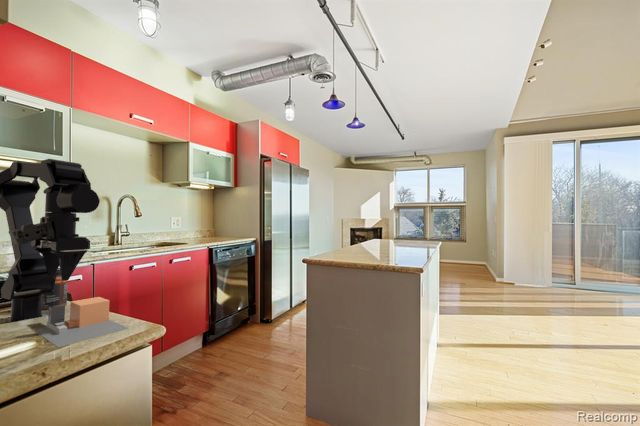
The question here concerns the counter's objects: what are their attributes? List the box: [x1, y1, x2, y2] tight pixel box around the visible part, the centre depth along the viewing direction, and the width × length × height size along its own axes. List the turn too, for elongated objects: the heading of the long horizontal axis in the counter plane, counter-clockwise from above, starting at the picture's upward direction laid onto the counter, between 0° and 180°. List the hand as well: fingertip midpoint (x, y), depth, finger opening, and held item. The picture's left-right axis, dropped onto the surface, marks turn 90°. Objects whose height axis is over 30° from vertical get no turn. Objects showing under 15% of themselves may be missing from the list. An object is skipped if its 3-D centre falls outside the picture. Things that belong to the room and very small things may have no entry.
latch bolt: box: [41, 304, 66, 325], centre depth 69 cm, size 10×2×4 cm, turn 57°
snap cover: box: [65, 296, 111, 328], centre depth 73 cm, size 6×8×5 cm
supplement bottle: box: [42, 267, 68, 311], centre depth 88 cm, size 6×6×11 cm
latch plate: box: [32, 319, 130, 348], centre depth 69 cm, size 16×13×2 cm
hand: (58, 278), depth 71 cm, fingers open, 9 cm apart
